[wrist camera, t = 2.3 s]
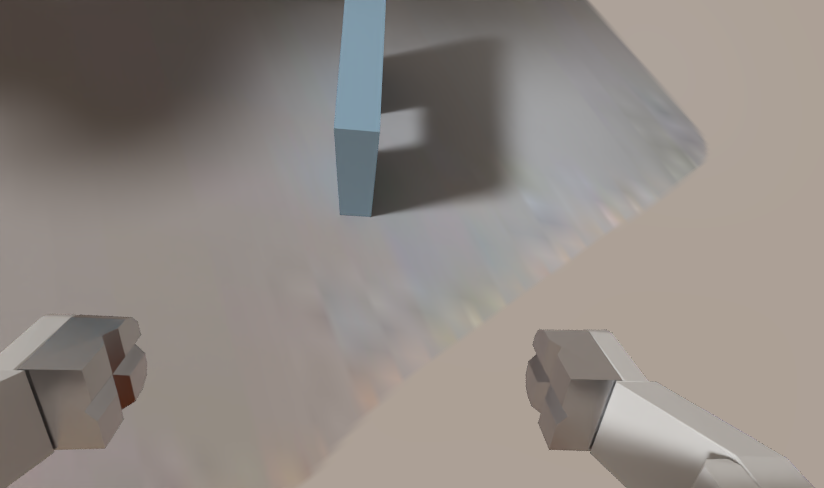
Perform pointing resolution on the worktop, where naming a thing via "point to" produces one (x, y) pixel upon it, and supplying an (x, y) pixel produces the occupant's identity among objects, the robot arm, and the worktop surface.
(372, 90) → the slotted plate
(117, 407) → the robot arm
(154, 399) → the worktop surface
